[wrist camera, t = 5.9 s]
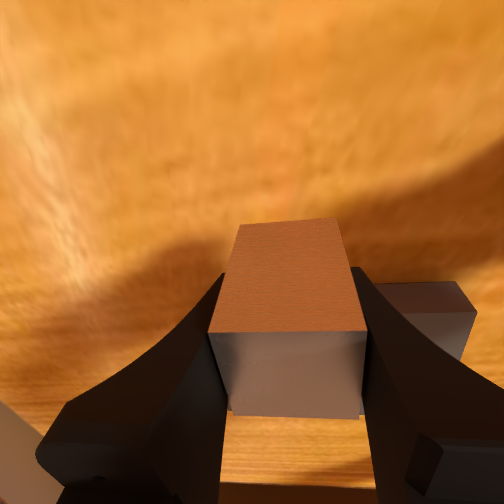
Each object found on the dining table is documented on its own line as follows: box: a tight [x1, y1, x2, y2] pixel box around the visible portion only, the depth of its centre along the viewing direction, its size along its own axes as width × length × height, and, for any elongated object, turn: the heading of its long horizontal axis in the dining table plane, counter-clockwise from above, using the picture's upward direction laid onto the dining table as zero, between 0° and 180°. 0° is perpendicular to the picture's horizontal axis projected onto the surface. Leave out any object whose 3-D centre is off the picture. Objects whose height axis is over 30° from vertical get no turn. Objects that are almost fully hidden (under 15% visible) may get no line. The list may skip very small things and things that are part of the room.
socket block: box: [228, 281, 477, 415], centre depth 24 cm, size 18×12×3 cm, turn 98°
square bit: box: [208, 218, 367, 420], centre depth 11 cm, size 4×4×6 cm
